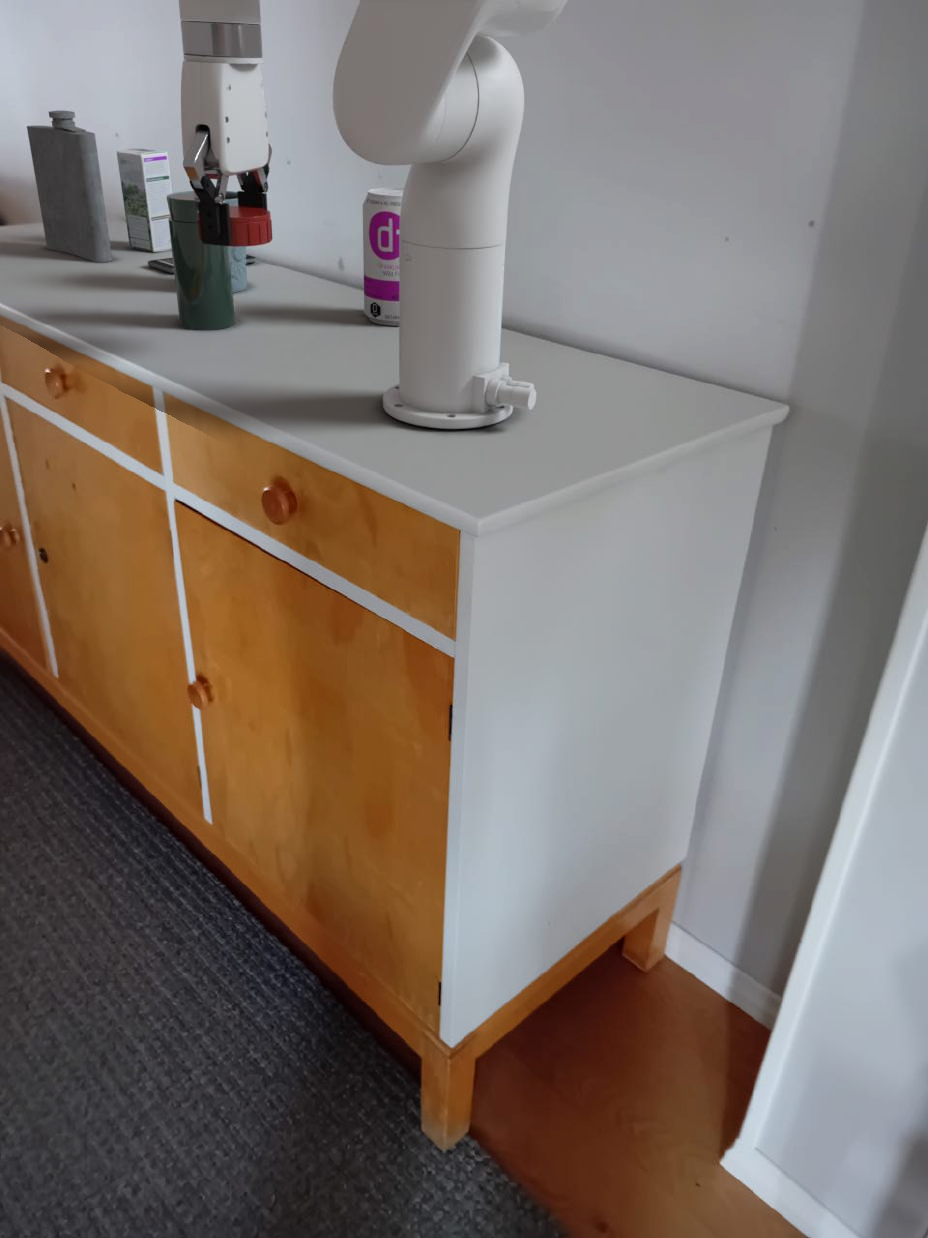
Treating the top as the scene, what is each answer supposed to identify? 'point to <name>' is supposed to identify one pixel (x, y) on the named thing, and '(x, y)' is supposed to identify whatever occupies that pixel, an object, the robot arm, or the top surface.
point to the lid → (248, 226)
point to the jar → (199, 270)
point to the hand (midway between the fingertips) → (236, 236)
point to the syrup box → (146, 197)
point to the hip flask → (70, 188)
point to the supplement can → (382, 254)
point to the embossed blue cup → (232, 249)
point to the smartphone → (169, 267)
